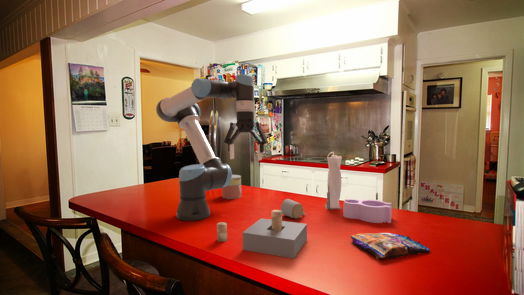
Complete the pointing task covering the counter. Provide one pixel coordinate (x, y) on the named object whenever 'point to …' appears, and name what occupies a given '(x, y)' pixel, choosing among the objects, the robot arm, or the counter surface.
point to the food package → (388, 245)
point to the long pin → (277, 220)
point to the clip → (368, 210)
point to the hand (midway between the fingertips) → (245, 159)
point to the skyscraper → (334, 182)
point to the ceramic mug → (292, 209)
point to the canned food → (232, 188)
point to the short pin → (221, 231)
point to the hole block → (275, 238)
